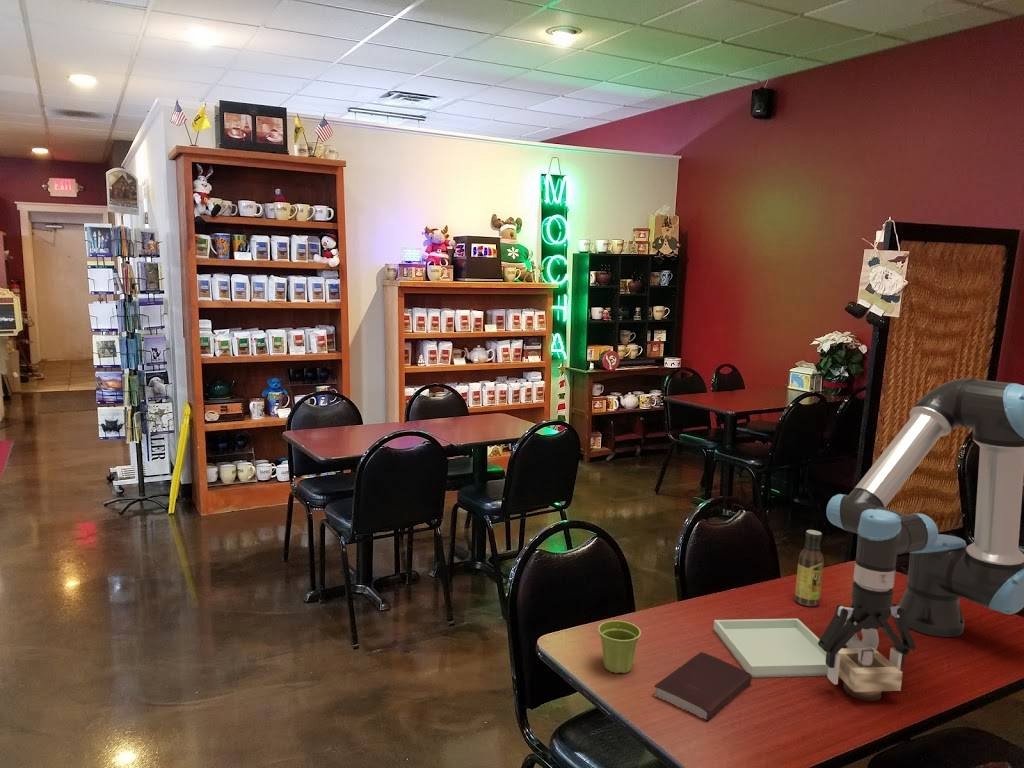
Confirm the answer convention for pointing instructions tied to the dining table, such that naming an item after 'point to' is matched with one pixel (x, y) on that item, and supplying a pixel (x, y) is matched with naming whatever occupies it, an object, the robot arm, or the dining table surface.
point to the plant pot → (618, 644)
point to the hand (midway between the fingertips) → (862, 680)
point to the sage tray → (773, 647)
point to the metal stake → (864, 661)
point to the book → (703, 685)
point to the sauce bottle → (810, 570)
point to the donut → (864, 639)
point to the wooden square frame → (868, 672)
